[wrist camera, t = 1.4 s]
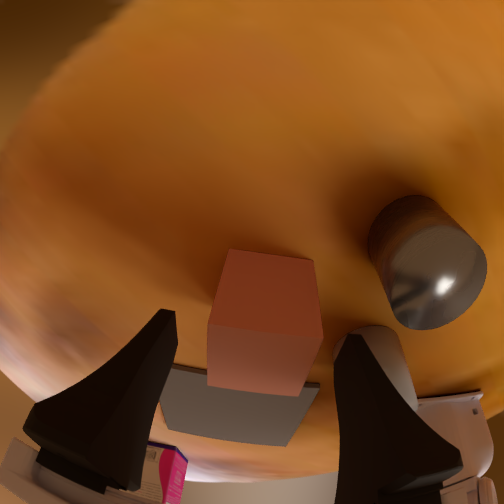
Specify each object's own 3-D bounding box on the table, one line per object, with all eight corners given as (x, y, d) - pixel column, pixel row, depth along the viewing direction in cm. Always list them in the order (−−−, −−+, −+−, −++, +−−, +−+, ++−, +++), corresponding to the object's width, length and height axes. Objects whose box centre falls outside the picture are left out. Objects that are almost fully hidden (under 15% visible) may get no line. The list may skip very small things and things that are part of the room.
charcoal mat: (319, 383, 19) (319, 388, 19) (285, 443, 25) (285, 446, 25) (151, 359, 19) (149, 363, 19) (169, 426, 26) (168, 429, 25)
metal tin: (458, 205, 12) (502, 247, 8) (427, 279, 14) (456, 331, 11) (382, 185, 12) (418, 227, 8) (356, 269, 14) (374, 327, 11)
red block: (312, 259, 14) (323, 338, 10) (296, 319, 16) (298, 396, 12) (229, 247, 14) (207, 323, 10) (224, 310, 16) (207, 385, 12)
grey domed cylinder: (409, 327, 16) (433, 394, 12) (382, 370, 18) (395, 431, 14) (345, 322, 16) (357, 397, 12) (324, 368, 18) (328, 434, 14)
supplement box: (151, 453, 33) (133, 520, 23) (135, 437, 30) (113, 512, 20) (189, 461, 32) (175, 531, 22) (177, 446, 29) (158, 527, 19)
